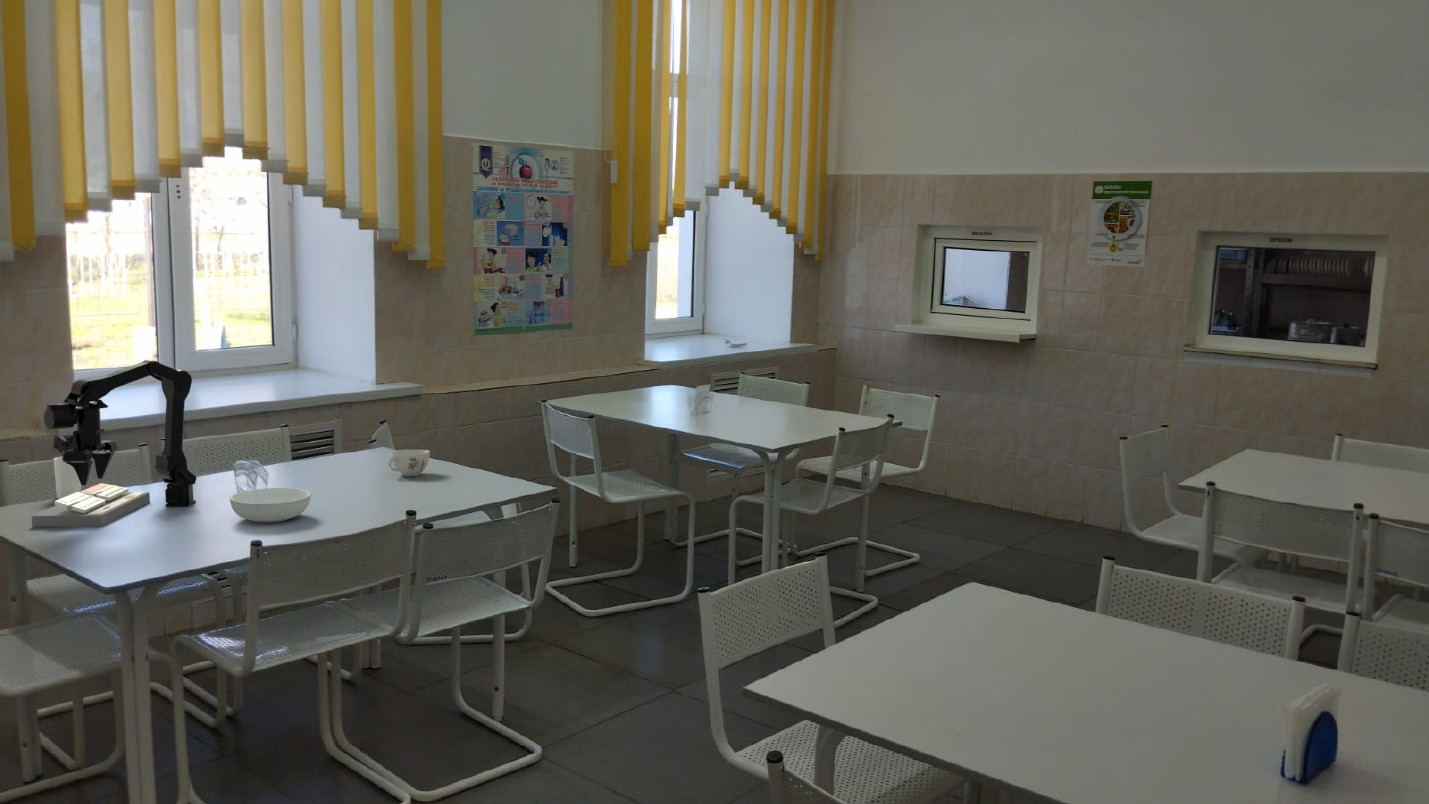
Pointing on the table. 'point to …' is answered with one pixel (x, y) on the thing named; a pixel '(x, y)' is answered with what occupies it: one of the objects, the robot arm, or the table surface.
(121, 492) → the cream slotted panel
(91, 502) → the rocker
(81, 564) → the table surface
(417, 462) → the teacup
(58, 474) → the mug
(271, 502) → the serving bowl
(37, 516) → the switch panel
